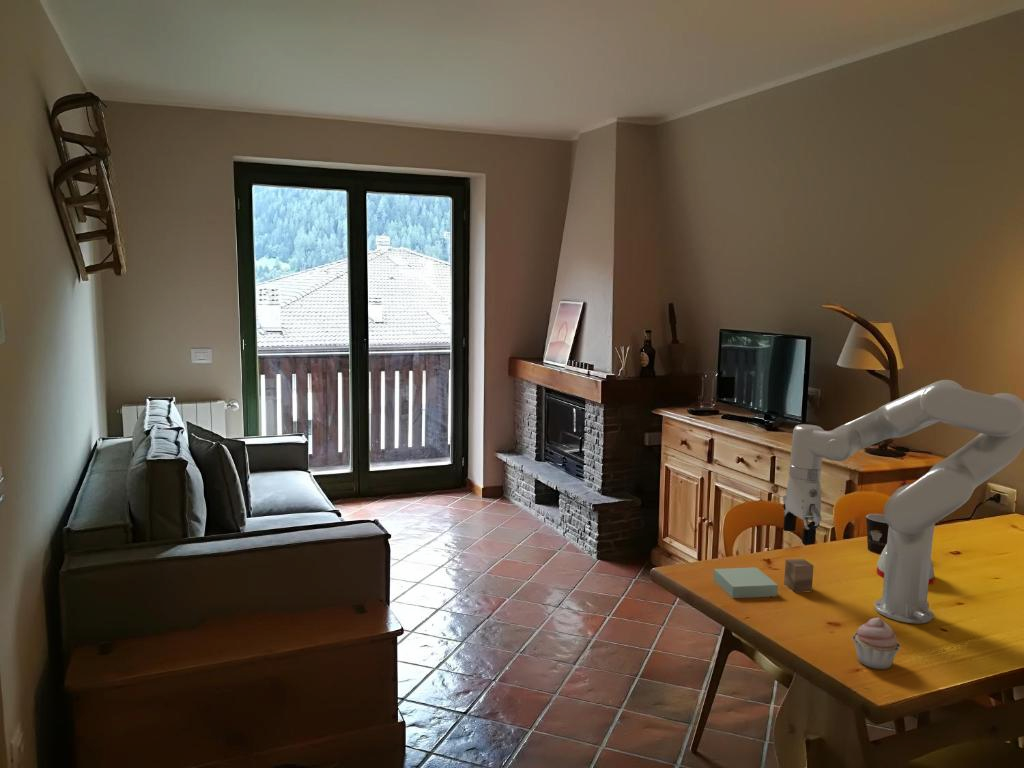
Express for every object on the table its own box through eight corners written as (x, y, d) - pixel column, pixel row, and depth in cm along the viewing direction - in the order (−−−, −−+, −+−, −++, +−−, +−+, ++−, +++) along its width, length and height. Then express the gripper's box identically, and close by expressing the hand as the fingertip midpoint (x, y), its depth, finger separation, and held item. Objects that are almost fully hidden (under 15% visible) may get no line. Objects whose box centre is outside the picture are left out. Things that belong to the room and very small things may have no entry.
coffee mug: (857, 547, 229) (859, 515, 228) (880, 544, 231) (882, 513, 230) (886, 560, 218) (889, 527, 217) (910, 557, 220) (913, 524, 219)
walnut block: (811, 591, 195) (813, 565, 194) (793, 592, 194) (795, 566, 193) (801, 584, 199) (803, 558, 199) (783, 584, 199) (785, 559, 198)
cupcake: (884, 678, 151) (889, 631, 150) (841, 659, 159) (844, 614, 157) (908, 665, 157) (912, 620, 155) (865, 648, 164) (868, 604, 163)
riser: (777, 596, 191) (777, 584, 191) (732, 598, 189) (732, 586, 189) (755, 578, 203) (756, 567, 202) (713, 579, 201) (713, 569, 201)
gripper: (837, 482, 185) (830, 549, 187) (801, 464, 202) (795, 525, 204) (808, 482, 184) (802, 549, 186) (774, 464, 201) (769, 526, 203)
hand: (798, 537), depth 195 cm, fingers open, 9 cm apart
